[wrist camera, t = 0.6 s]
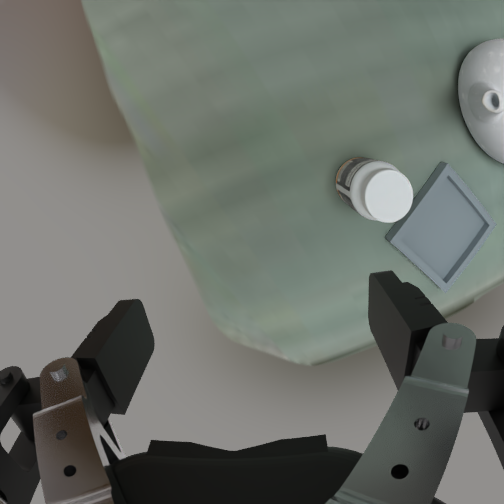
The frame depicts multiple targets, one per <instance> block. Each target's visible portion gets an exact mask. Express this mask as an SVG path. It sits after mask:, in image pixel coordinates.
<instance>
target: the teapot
mask: <svg viewBox="0 0 504 504" xmlns="http://www.w3.org/2000/svg"><path fill="white" fill-rule="evenodd" d="M458 95H459V102H460V107H461V111H462V115H463V118H464V120H465V122H466V125H467V127H468V129H469V131H470V133H471V135H472V136H473V138H474V139H475V141H476V142H477V144H478V145H479V146H480V147H481V148H482V149H483V150H484V151H485V152H486V153H487V154H488V155H489V156H491V157H492V158H493V159H495V160H497V161H498V162H501V163H503V164H504V39H492V40H489V41H485V42H483V43H481V44H479V45H477V46H476V47H475V48H473V49H472V50H471V51H470V52H469V53H468V55H467V56H466V58H465V59H464V61H463V63H462V66H461V68H460V72H459V79H458Z"/></svg>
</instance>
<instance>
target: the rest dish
mask: <svg viewBox="0 0 504 504" xmlns="http://www.w3.org/2000/svg"><path fill="white" fill-rule="evenodd" d="M496 225H497V224H496V223H495V221H494V220H493V218H492V217H491V216H490V214H489V213H488V212H487V210H486V209H485V208H484V206H483V205H482V204H481V202H480V201H479V200H478V199H477V197H476V196H475V195H474V194H473V192H472V191H471V190H470V189H469V187H468V186H467V185H466V184H465V183H464V181H463V180H462V179H461V178H460V177H459V175H458V174H457V173H456V172H455V171H454V170H453V169H452V167H451V166H450V165H449V164H448V163H444V162H440V163H439V165H438V166H437V168H436V169H435V171H434V172H433V173H432V175H431V176H430V178H429V179H428V180H427V182H426V183H425V185H424V186H423V187H422V189H421V190H420V192H419V193H418V194H417V196H416V197H415V198H414V200H413V201H412V205H411V208H410V210H409V211H408V213H407V214H406V215H405V216H404V217H403V218H401V219H400V220H398V221H397V222H396V223H395V225H394V226H393V227H392V228H391V230H390V231H389V232H388V234H387V235H386V236H385V238H386V239H387V240H389V241H390V242H391V243H392V244H393V245H394V246H395V247H397V248H398V249H399V250H400V251H401V252H402V253H403V254H404V255H405V256H407V257H408V258H409V259H410V260H411V261H412V262H413V263H414V264H415V265H416V266H418V267H419V268H420V269H421V270H422V271H423V272H424V273H425V274H426V275H427V276H428V277H429V278H430V279H431V280H432V281H434V282H435V283H436V284H437V285H438V286H439V287H440V288H441V289H442V290H443V291H444V292H445V293H446V292H447V291H448V290H449V288H450V287H451V286H452V285H453V283H454V282H455V281H456V280H457V278H458V277H459V276H460V275H461V273H462V272H463V271H464V269H465V268H466V267H467V265H468V264H469V263H470V261H471V260H472V259H473V257H474V256H475V255H476V253H477V252H478V251H479V249H480V248H481V246H482V245H483V244H484V242H485V241H486V239H487V238H488V236H489V235H490V233H491V232H492V231H493V229H494V228H495V226H496Z"/></svg>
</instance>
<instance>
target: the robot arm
mask: <svg viewBox="0 0 504 504" xmlns="http://www.w3.org/2000/svg"><path fill="white" fill-rule="evenodd" d="M368 318H369V325H370V329H371V332H372V334H373V336H374V338H375V340H376V342H377V345H378V347H379V349H380V351H381V353H382V355H383V358H384V360H385V362H386V364H387V367H388V369H389V371H390V373H391V376H392V378H393V380H394V382H395V385H396V387H397V389H398V392H397V394H396V396H395V398H394V400H393V402H392V404H391V406H390V408H389V410H388V412H387V413H386V416H385V417H384V419H383V421H382V423H381V424H380V426H379V428H378V430H377V431H376V433H375V435H374V437H373V438H372V440H371V442H370V443H369V445H368V447H367V448H366V450H365V452H364V453H363V454H362V453H359V452H356V451H352V450H348V449H343V448H338V447H327V441H326V435H318V436H310V437H302V438H292V439H282V440H278V441H274V442H270V443H266V444H263V445H259V446H255V447H251V448H247V449H242V450H238V451H228V450H223V449H218V448H213V447H208V446H204V445H200V444H196V443H192V442H174V441H158V440H151V442H150V445H149V448H148V451H147V452H143V453H139V454H134V455H131V456H128V457H126V456H125V453H124V451H123V449H122V447H121V444H120V442H119V440H118V437H117V435H116V433H115V430H114V428H113V425H112V423H111V421H110V420H109V415H110V414H111V413H112V414H123V415H125V413H126V410H127V408H128V406H129V404H130V401H131V399H132V397H133V395H134V392H135V390H136V388H137V385H138V384H139V381H140V379H141V377H142V375H143V372H144V370H145V368H146V366H147V364H148V362H149V359H150V357H151V355H152V353H153V351H154V337H153V333H152V330H151V328H150V325H149V322H148V319H147V316H146V313H145V309H144V307H143V304H142V302H141V301H140V300H139V299H132V300H120V301H118V303H117V304H116V305H115V306H114V308H113V309H112V310H111V311H110V313H109V314H108V315H107V316H105V317H104V318H103V319H101V320H100V321H98V323H97V324H96V325H95V326H94V328H93V329H92V331H91V332H90V333H89V334H88V336H87V338H85V339H84V341H83V342H82V343H81V345H80V346H79V348H78V349H77V350H76V351H75V353H74V354H73V356H72V357H71V358H69V357H65V358H60V359H57V360H55V361H52V362H51V363H49V364H48V365H47V366H45V367H44V368H43V370H42V371H41V373H40V377H36V378H29V379H26V377H25V375H24V373H23V372H22V370H21V368H19V367H16V366H12V367H7V368H5V369H3V370H2V371H0V434H1V432H2V430H3V428H4V427H5V425H6V424H7V422H8V420H9V419H10V417H11V418H12V419H13V421H14V422H15V423H16V425H17V426H18V427H19V429H20V430H21V433H20V434H19V436H18V438H17V440H16V441H15V443H14V445H13V447H12V449H11V451H10V452H9V454H8V453H7V452H6V451H5V450H4V448H3V447H2V445H1V442H0V504H30V502H31V500H32V497H33V495H34V492H35V489H36V488H37V485H38V483H39V481H40V479H41V484H42V489H43V493H44V498H45V503H46V504H446V503H444V502H442V501H441V500H439V499H437V498H435V497H434V496H435V493H436V491H437V489H438V486H439V484H440V481H441V479H442V476H443V474H444V471H445V469H446V466H447V463H448V461H449V457H450V455H451V452H452V449H453V446H454V443H455V440H456V437H457V434H458V430H459V427H460V424H461V420H462V416H463V413H466V412H478V414H479V416H480V418H481V420H482V422H483V424H484V426H485V428H486V430H487V432H488V434H489V437H490V439H491V441H492V443H493V445H494V448H495V450H496V452H497V455H498V457H499V459H500V461H501V464H502V466H503V469H504V326H503V327H502V330H501V333H500V336H499V338H498V339H497V338H496V339H476V336H475V334H474V333H473V332H472V331H471V330H470V329H469V328H467V327H465V326H463V325H461V324H457V323H448V322H447V321H446V320H445V319H444V317H443V316H442V315H441V314H440V313H439V311H438V310H437V309H436V308H435V307H434V305H433V304H431V302H430V301H429V299H428V298H427V297H425V295H424V294H423V292H422V291H421V290H420V289H419V288H418V287H416V286H414V285H412V284H410V283H408V282H404V283H402V282H401V281H400V280H399V278H398V277H397V276H396V275H395V273H394V272H393V271H391V270H390V271H383V272H376V273H371V274H370V276H369V306H368Z"/></svg>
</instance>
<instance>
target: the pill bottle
mask: <svg viewBox="0 0 504 504" xmlns="http://www.w3.org/2000/svg"><path fill="white" fill-rule="evenodd" d="M336 188H337V192H338V194H339V196H340V197H341V199H342V200H343V201H344V202H345V203H347V204H348V205H349V206H350V207H352V208H353V209H354V210H355V211H357V212H358V213H359V214H360V215H362V216H363V217H365V218H367V219H370V220H377V221H381V222H385V223H391V222H396V221H398V220H400V219H401V218H403V217H404V216H405V215H406V214H407V213H408V211H409V210H410V208H411V205H412V201H413V190H412V186H411V184H410V182H409V180H408V179H407V177H406V176H405V175H403V174H402V173H401V172H399V170H398V169H397V168H396V167H394V166H393V165H392V164H390V163H387V162H384V161H379V160H374V159H369V158H362V157H358V158H353V159H350V160H348V161H346V162H345V163H344V164H343V165H342V166H341V167H340V169H339V171H338V173H337V176H336Z"/></svg>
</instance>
